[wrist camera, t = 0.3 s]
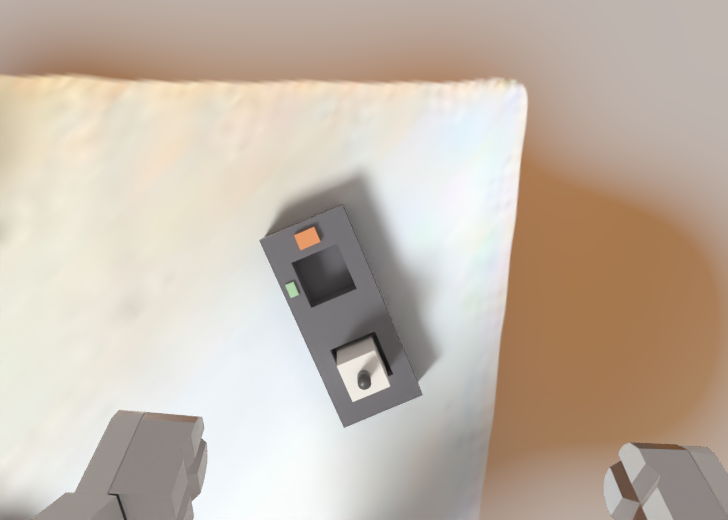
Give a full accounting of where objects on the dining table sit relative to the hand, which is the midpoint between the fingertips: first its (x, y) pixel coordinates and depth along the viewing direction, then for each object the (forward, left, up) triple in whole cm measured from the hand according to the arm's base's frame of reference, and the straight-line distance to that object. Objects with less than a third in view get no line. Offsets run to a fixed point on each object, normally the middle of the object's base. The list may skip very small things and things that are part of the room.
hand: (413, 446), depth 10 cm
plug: (-14, +5, -52) cm, 54 cm away
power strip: (-9, +5, -52) cm, 53 cm away
